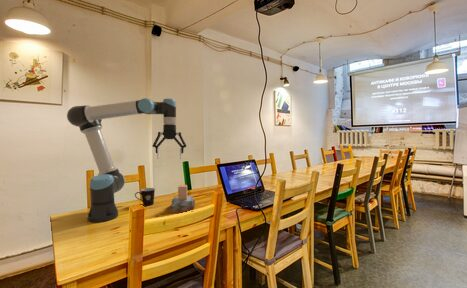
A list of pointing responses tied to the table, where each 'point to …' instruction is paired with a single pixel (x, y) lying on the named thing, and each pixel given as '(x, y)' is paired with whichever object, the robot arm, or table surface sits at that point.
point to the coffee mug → (147, 196)
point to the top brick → (182, 192)
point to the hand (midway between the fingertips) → (169, 158)
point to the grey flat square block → (182, 204)
